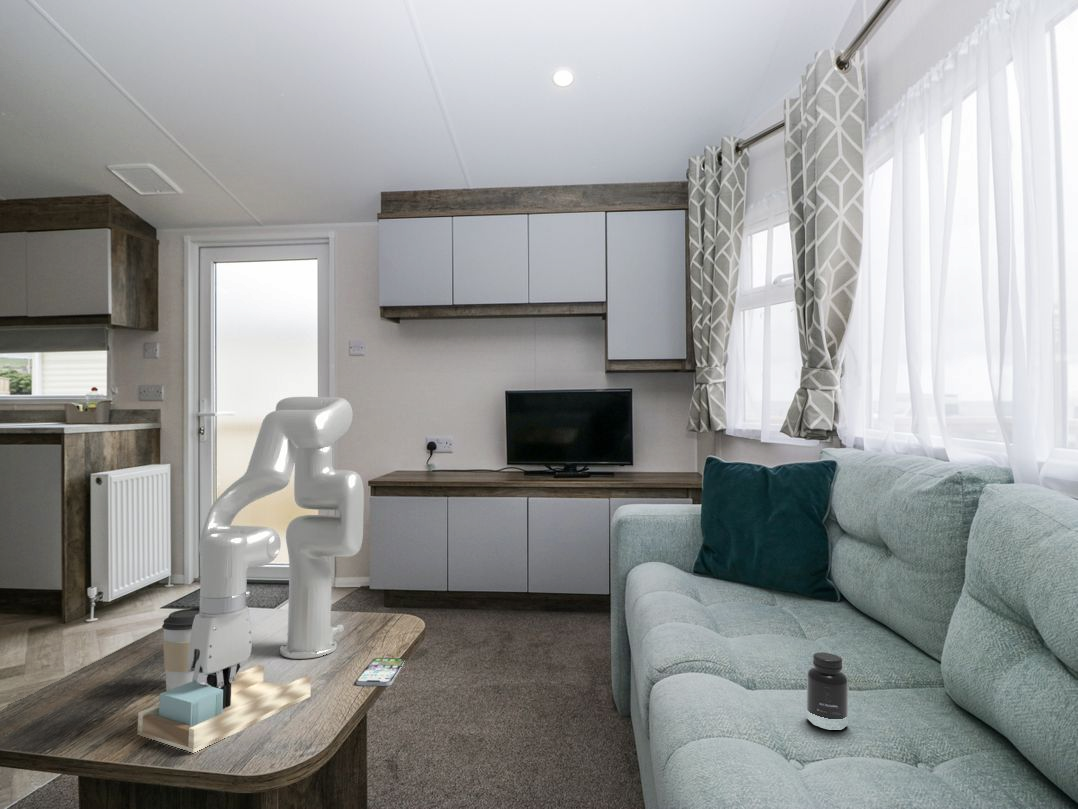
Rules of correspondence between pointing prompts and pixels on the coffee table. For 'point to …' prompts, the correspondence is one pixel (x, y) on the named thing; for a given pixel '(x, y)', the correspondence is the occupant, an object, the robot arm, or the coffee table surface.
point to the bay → (227, 712)
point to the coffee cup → (178, 647)
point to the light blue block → (191, 703)
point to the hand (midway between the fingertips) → (220, 706)
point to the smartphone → (380, 672)
